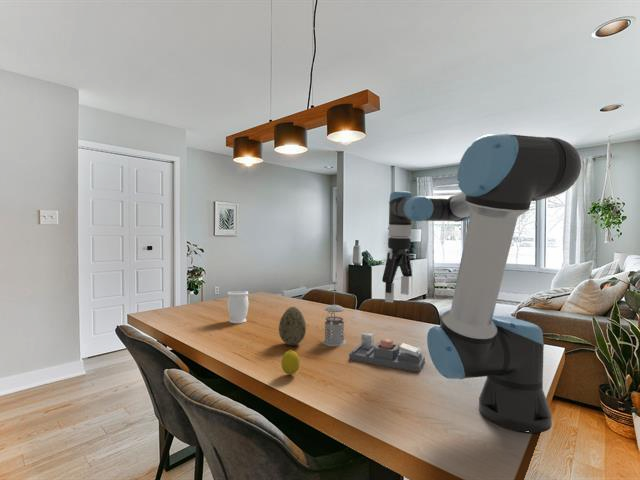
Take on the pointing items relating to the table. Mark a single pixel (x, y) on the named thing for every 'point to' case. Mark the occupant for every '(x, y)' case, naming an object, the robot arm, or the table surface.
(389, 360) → the panel
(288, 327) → the decorative egg
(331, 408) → the table surface
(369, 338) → the slide switch
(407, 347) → the rocker switch
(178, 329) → the table surface
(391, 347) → the push button
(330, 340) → the french press
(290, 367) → the lemon
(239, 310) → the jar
